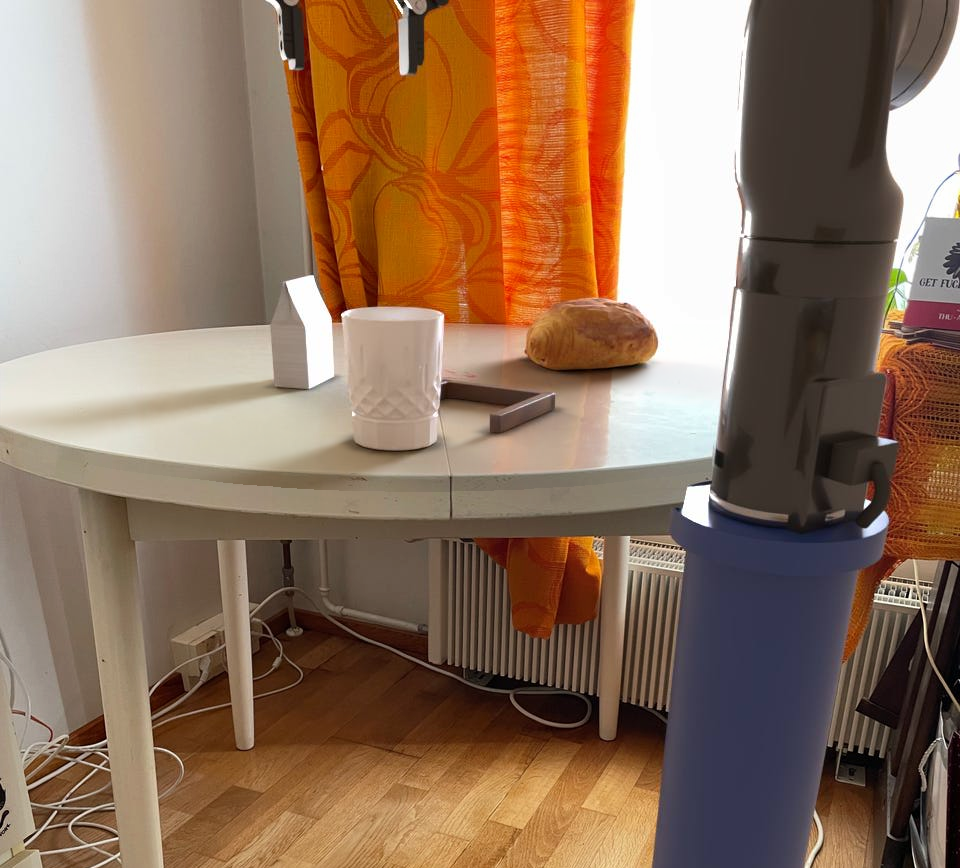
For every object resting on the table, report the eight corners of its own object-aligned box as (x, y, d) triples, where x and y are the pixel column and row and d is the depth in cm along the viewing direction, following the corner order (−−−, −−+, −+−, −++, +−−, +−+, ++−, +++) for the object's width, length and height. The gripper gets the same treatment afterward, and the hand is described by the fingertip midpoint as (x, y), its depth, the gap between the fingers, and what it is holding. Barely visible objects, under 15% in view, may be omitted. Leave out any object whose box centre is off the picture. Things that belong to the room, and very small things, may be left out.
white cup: (420, 457, 79) (419, 323, 74) (329, 447, 81) (323, 316, 77) (458, 434, 85) (459, 310, 81) (372, 425, 88) (369, 304, 84)
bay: (499, 433, 86) (500, 415, 85) (381, 415, 91) (380, 399, 91) (554, 409, 95) (555, 392, 94) (443, 394, 100) (443, 378, 99)
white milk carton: (333, 376, 107) (329, 276, 103) (308, 389, 101) (303, 282, 97) (301, 374, 108) (295, 274, 104) (274, 386, 102) (267, 281, 98)
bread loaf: (670, 388, 115) (687, 315, 112) (545, 375, 109) (559, 297, 106) (613, 362, 127) (627, 295, 124) (497, 349, 121) (509, 279, 118)
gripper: (249, -236, 63) (268, 64, 70) (463, -204, 68) (462, 73, 75) (228, -200, 70) (248, 71, 76) (425, -174, 74) (427, 79, 81)
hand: (354, 72), depth 76 cm, fingers open, 8 cm apart
